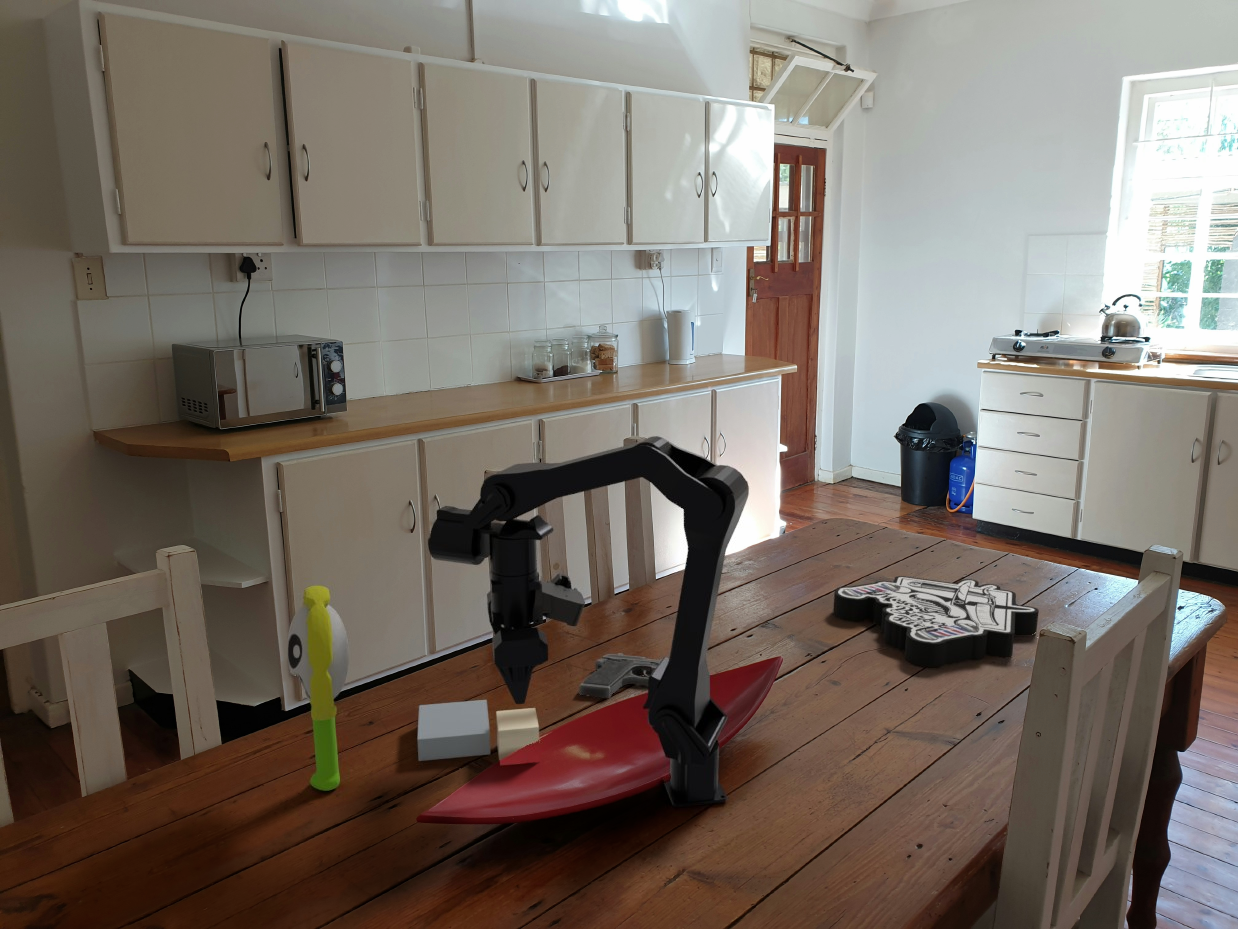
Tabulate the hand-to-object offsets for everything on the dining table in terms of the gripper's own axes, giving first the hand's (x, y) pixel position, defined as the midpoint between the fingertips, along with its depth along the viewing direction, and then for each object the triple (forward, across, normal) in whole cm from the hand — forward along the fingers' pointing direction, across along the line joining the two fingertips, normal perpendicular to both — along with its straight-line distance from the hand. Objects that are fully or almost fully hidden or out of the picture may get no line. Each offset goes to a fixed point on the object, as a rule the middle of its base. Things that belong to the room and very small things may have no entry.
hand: (517, 686), depth 116 cm
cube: (+10, 0, 0) cm, 10 cm away
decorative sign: (+10, +28, -75) cm, 81 cm away
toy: (+10, -3, +23) cm, 25 cm away
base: (+9, +5, +8) cm, 13 cm away
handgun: (+10, +16, -20) cm, 28 cm away
